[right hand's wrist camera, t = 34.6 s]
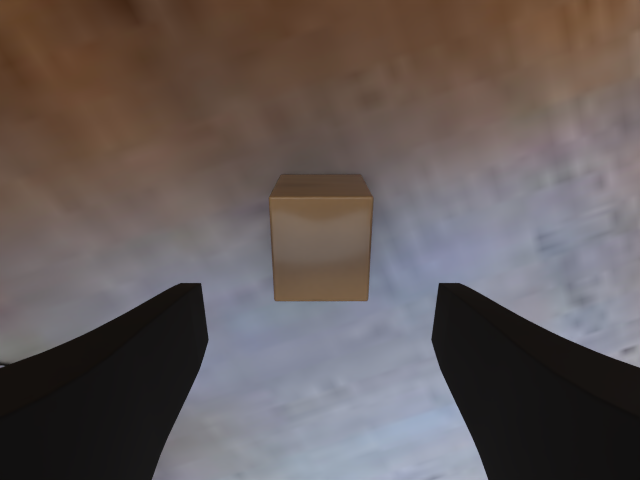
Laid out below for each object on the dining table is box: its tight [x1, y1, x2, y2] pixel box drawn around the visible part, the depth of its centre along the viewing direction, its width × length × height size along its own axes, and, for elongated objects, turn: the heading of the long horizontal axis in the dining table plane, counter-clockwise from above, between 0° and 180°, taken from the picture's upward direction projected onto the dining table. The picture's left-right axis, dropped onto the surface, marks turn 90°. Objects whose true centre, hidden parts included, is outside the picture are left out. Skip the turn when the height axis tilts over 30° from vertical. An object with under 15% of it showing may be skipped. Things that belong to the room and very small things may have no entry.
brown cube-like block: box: [269, 175, 374, 301], centre depth 18 cm, size 5×4×5 cm
